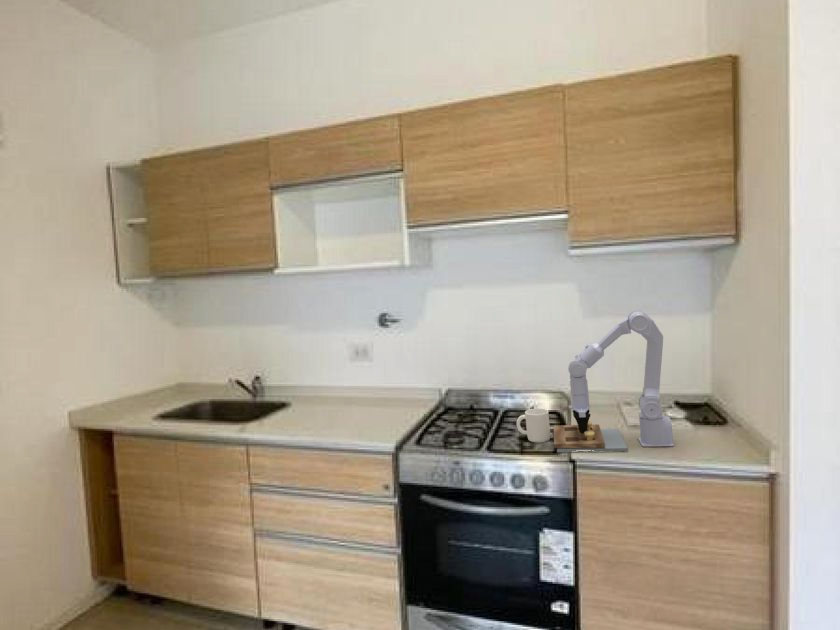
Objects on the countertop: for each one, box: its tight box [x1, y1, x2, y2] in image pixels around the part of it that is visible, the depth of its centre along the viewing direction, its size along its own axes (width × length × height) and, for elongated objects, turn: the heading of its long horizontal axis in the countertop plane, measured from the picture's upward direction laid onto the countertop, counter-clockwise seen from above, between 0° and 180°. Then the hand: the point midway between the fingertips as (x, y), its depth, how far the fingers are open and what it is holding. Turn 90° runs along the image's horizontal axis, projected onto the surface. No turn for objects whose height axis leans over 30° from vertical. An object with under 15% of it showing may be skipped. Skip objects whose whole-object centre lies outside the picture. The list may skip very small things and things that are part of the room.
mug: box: [516, 408, 551, 444], centre depth 175 cm, size 12×8×10 cm
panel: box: [553, 424, 605, 449], centre depth 167 cm, size 16×20×5 cm
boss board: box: [556, 421, 629, 453], centre depth 166 cm, size 22×20×5 cm
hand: (583, 431), depth 167 cm, fingers closed on panel, 2 cm apart
